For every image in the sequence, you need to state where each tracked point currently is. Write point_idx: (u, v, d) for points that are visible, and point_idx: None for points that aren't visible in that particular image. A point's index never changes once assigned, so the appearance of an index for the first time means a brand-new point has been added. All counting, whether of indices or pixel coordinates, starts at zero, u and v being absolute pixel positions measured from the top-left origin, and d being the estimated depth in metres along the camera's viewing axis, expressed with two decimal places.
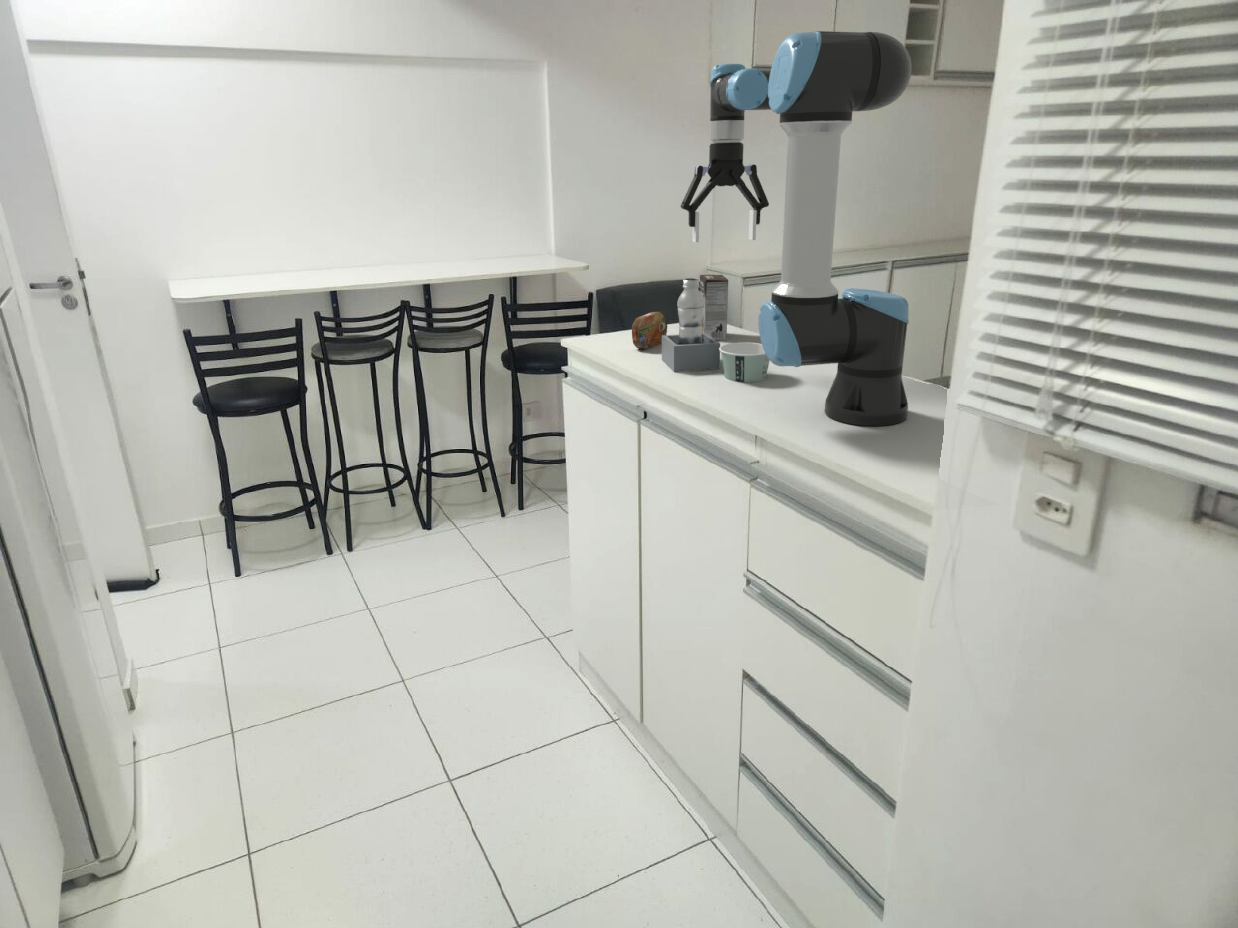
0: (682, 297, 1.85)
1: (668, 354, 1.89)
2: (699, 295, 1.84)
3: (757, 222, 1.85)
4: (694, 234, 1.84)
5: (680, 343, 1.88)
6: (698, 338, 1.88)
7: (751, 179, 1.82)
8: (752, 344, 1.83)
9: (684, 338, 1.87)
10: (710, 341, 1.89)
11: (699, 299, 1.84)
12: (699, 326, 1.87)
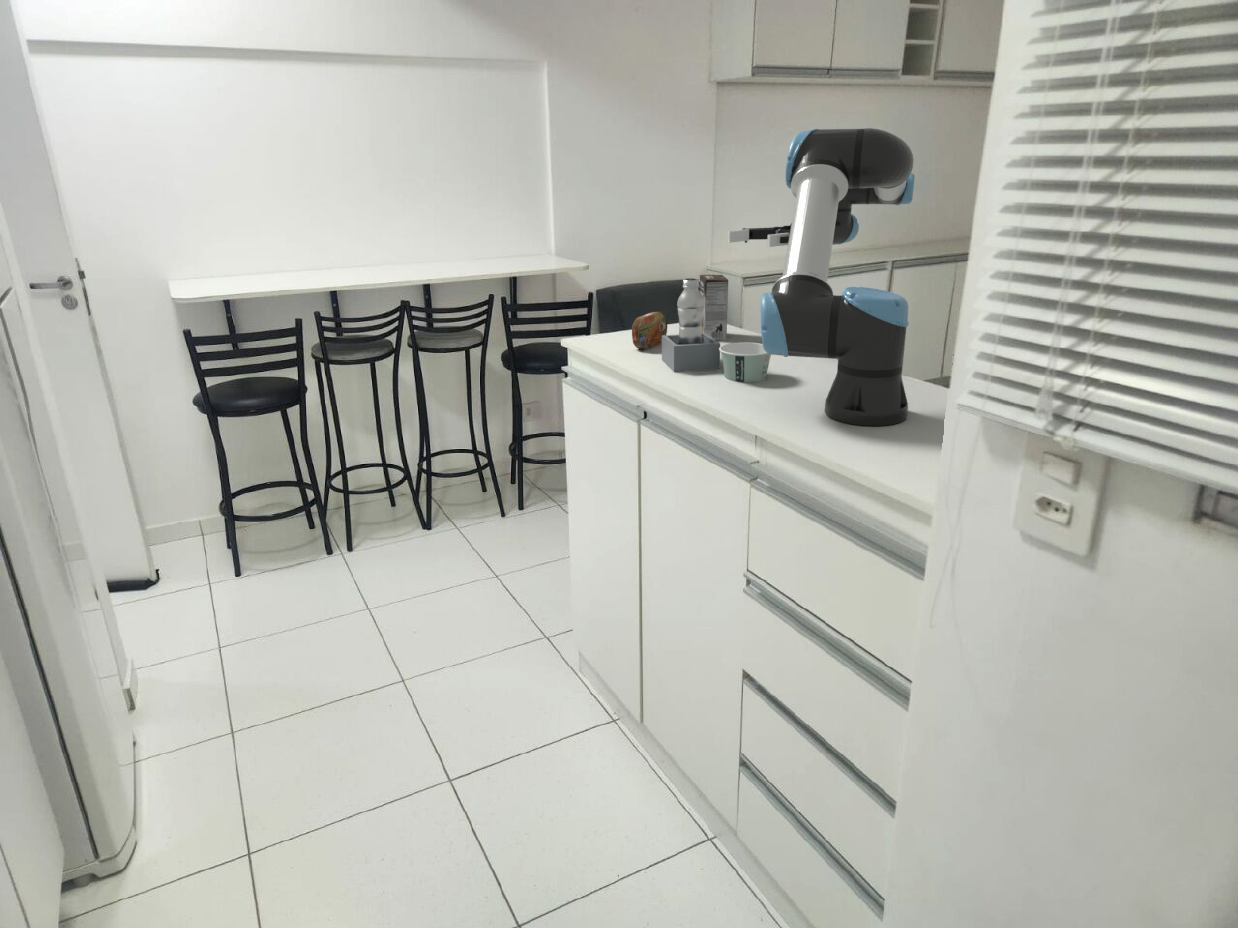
0: (682, 297, 1.85)
1: (668, 354, 1.89)
2: (699, 295, 1.84)
3: (783, 237, 1.88)
4: None
5: (680, 343, 1.88)
6: (698, 338, 1.88)
7: None
8: (752, 344, 1.83)
9: (684, 338, 1.87)
10: (710, 341, 1.89)
11: (699, 299, 1.84)
12: (699, 326, 1.87)
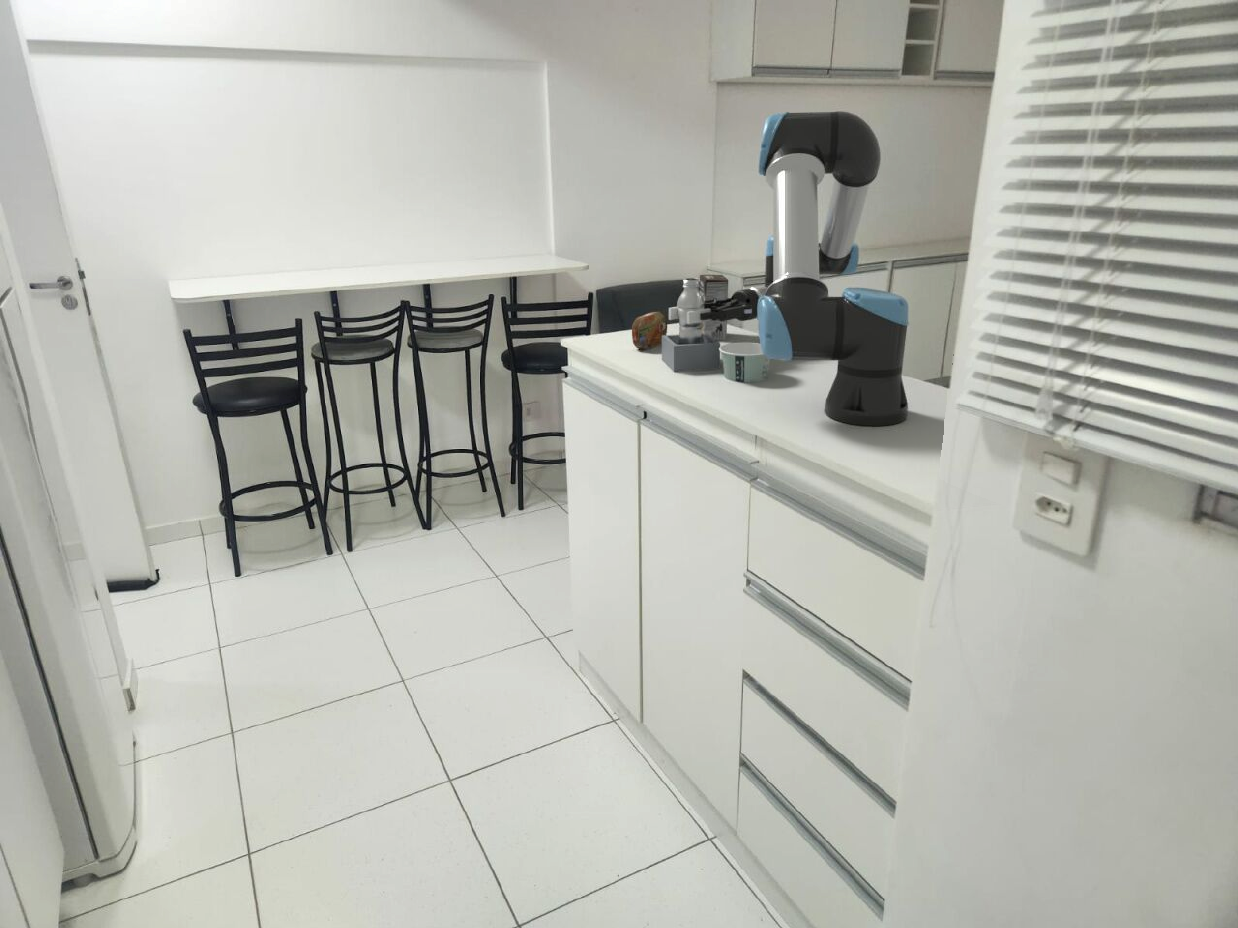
0: (682, 297, 1.84)
1: (668, 354, 1.89)
2: (699, 295, 1.84)
3: (703, 313, 1.84)
4: None
5: (680, 343, 1.88)
6: (698, 338, 1.88)
7: None
8: (752, 344, 1.83)
9: (684, 338, 1.87)
10: (710, 341, 1.89)
11: (699, 299, 1.84)
12: (699, 326, 1.87)
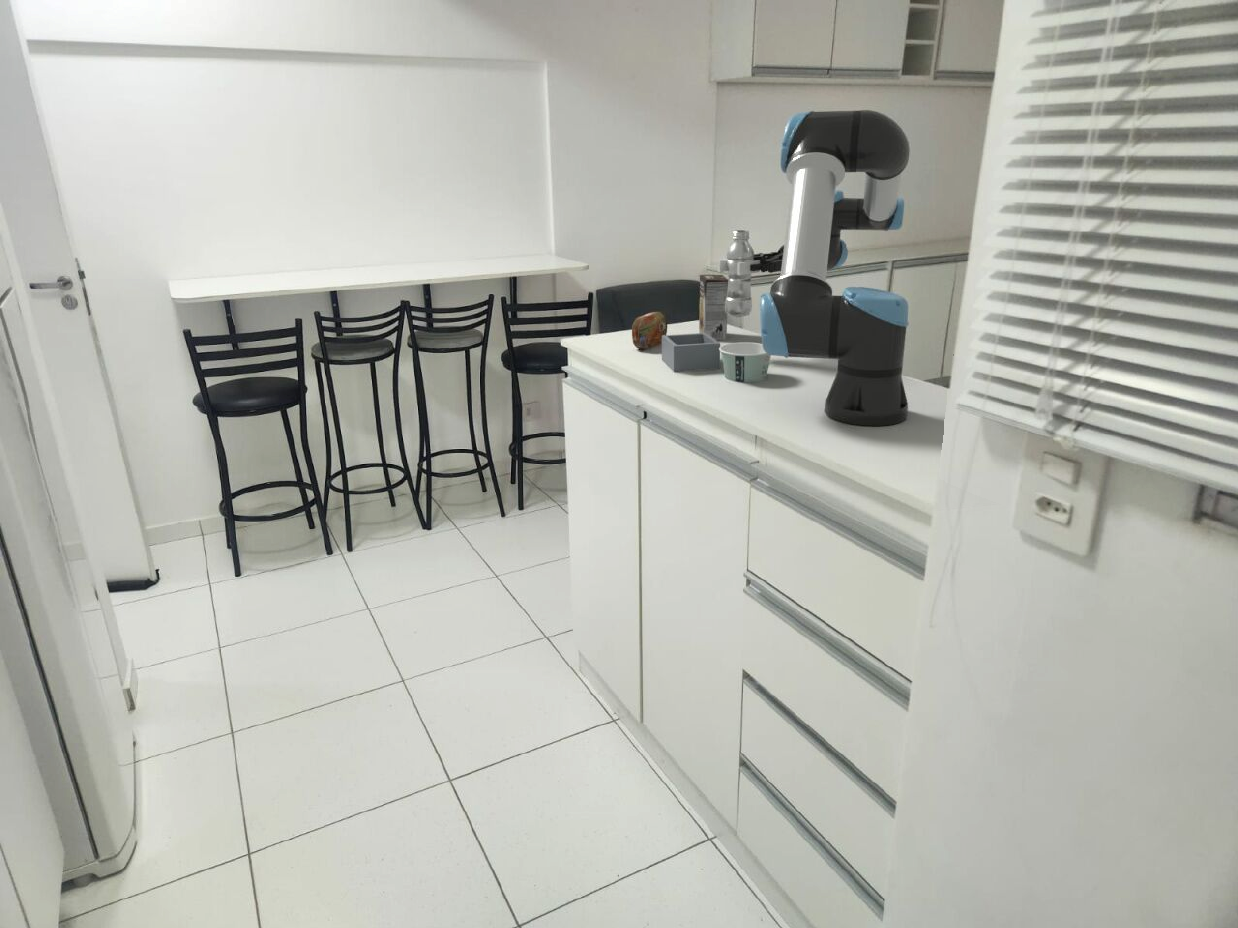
0: (732, 248, 1.87)
1: (668, 354, 1.89)
2: (749, 246, 1.87)
3: (753, 264, 1.86)
4: None
5: (729, 295, 1.91)
6: (747, 289, 1.90)
7: None
8: (752, 344, 1.83)
9: (734, 289, 1.89)
10: (710, 341, 1.89)
11: (749, 250, 1.86)
12: (748, 277, 1.89)
